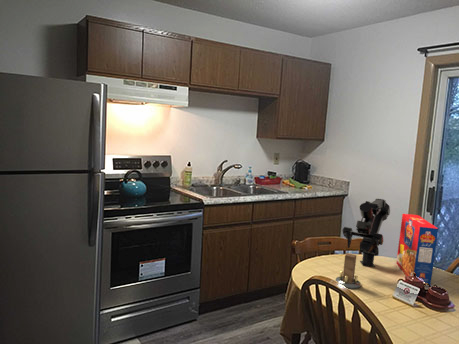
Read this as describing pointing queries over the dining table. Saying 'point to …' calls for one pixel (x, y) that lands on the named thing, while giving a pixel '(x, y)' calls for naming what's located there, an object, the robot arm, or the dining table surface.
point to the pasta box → (417, 247)
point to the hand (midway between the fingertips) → (357, 250)
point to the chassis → (353, 285)
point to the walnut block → (349, 267)
